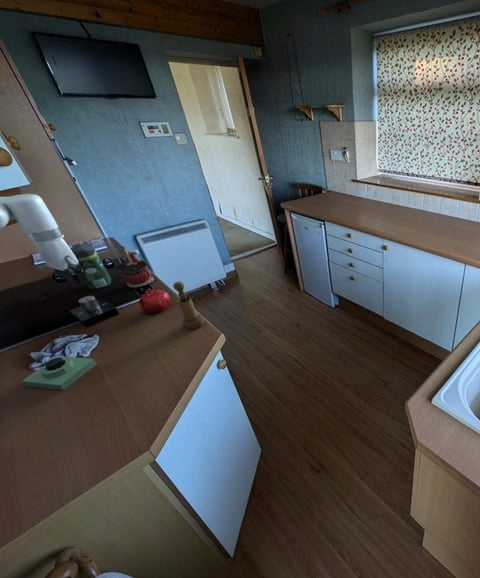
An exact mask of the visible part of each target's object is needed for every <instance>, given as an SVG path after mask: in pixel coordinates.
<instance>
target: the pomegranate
mask: <svg viewBox="0 0 480 578" xmlns="http://www.w3.org/2000/svg"><path fill="white" fill-rule="evenodd" d="M144 292H145V294H140V295H139V300H138V306H139V307H140V309H141V310H142V311H144V312H146V313H148V314H157V313H160V312H161V313H162V312H163V311H166V309H167V308H168V307H169V306H170V304H171V295H169V293H167V292H166V291H164V290H161V289H160V288H156V289H154V288H152V289H150V288H148V289H146V290H144Z"/></svg>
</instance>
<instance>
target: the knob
mask: <svg viewBox="0 0 480 578" xmlns="http://www.w3.org/2000/svg"><path fill="white" fill-rule="evenodd" d="M97 300H98V299H96V297H95V296H94V295H88V296H87V295H86V296H84V297H82V298H80V299H79V300H78V303H79V305H80V306H82V308H83V309H84V311H85V312H93V311H96V310H98V309H99V308H100V305H99V304H98V302H97Z"/></svg>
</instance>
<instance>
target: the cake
mask: <svg viewBox="0 0 480 578" xmlns="http://www.w3.org/2000/svg"><path fill="white" fill-rule="evenodd" d="M122 249H123V251H124V253H125V258H124V262H119V263H117V264H116V265H115V266H116V268H117V270H120V271H122V274H121V276H122V278H123V281H125V282H127V283H126V285H127V287H129V288H134V289H135V288H140V287H143V286H146V285H149V284H151V283H153V282H154V279H155V278H154V277H153V276H151V275H152V272H151V270H150V268H149V267H147V266H149V262H148V261H147V260H145V259H139V258H138V257H136V256H138V255H139V253H140V252H139V250H137V249H134V250H132V251H130V252H128V250H127V248H126V246H122Z"/></svg>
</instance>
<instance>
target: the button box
mask: <svg viewBox="0 0 480 578" xmlns="http://www.w3.org/2000/svg"><path fill="white" fill-rule="evenodd" d="M55 358H62V359H63V361H64V362H65V364H64V365H63V366H61V367H60V368H58V369H55V370H51V371H49V370H48V369H47V368H46V367H45V366H44V365H42V366H41V367H40V368H39V369H37V370H35V371H34V372H32V373H31V374H29V375H28V376H27V377H25V378H24V379H23V380H21V382H22V384H24V385H25V387H31V388H38V389H39V388H42V389H50V390H58V391H65V390H67V389H68V388H69V387H71V386H72V385H73V384H74V383H75V382H77V381H78V380H79V379H80V378H82V377H83V376H85V375H86V374H87V373H89V371H90V370H92V369H93V368H95V367H96V366H97V365H98V362H97V361H96V360H95V359H94V358H87V357H86V358H85V357H75V356H67V355H65V356H64V355H58V356H56V357H55Z"/></svg>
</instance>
